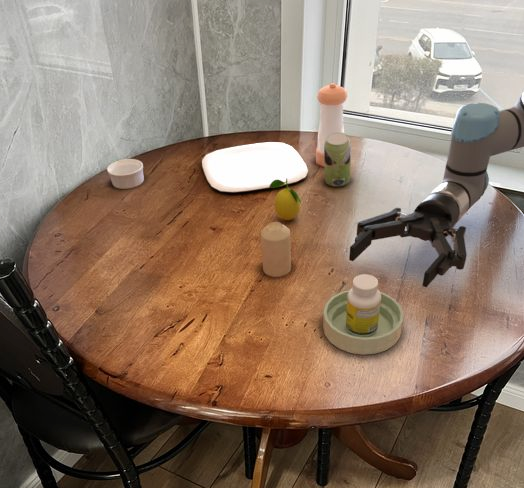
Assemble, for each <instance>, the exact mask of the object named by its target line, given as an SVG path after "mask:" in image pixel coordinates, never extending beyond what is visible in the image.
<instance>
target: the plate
mask: <svg viewBox="0 0 524 488" xmlns="http://www.w3.org/2000/svg"><path fill="white" fill-rule="evenodd" d="M201 167H202V170H203V173H204V176H205V178H206V181H207V182H208V184H209V185H210V188H212V189H214V190H216V191H218V192H220V193H232V194H238V193H246V192H247V193H248V192H254V191H261V190H267V189H270V188H269V187H270V184H271V183H272V182H273V181H274V180H281V181H282V182H286V178H287V185H288V186H289V185H292V184H295V183H298V182H300V181H302V180H304V179H306V177H307V175H308V173H309V169H308V167H307V163H306V162H305V161H304V160H303V158H302V157H301V155H300V154H299V152H298V151H297V150H296V149H295V148H294V147H293V146H291V145H289V144H286V143H285V142H275V141H269V142H267V141H266V142H258V143H251V144H243V145H237V146H231V147H225V148H221V149H217V150H214V151H211V152H209V153H207V154H205V156H204V157H203V158H202V159H201ZM283 186H286V183H284V185H283ZM283 186H282V187H283Z"/></svg>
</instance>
